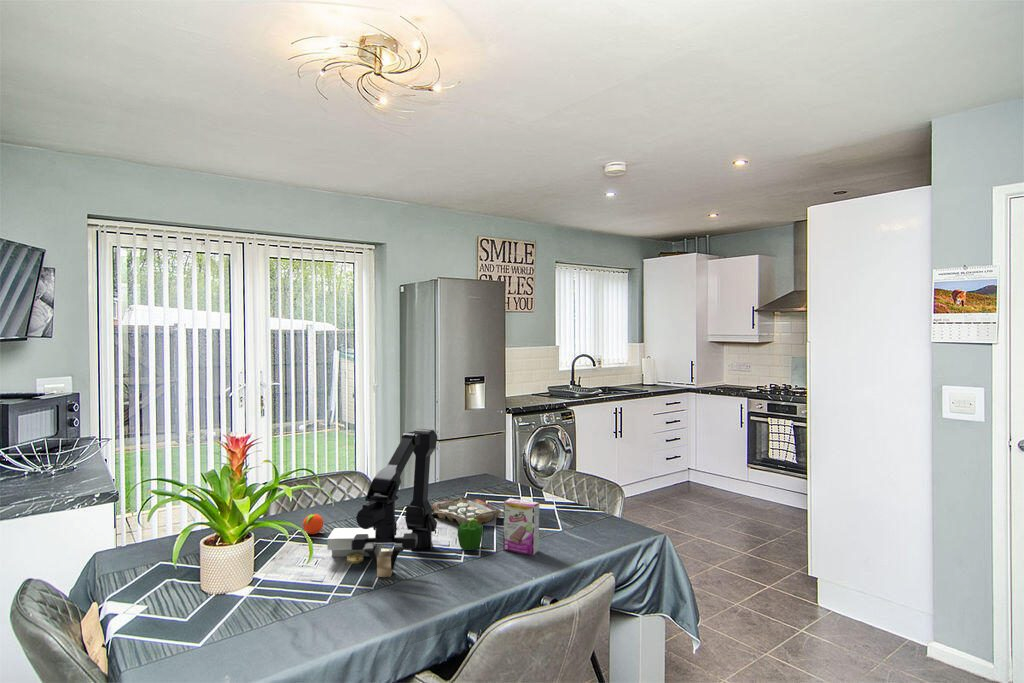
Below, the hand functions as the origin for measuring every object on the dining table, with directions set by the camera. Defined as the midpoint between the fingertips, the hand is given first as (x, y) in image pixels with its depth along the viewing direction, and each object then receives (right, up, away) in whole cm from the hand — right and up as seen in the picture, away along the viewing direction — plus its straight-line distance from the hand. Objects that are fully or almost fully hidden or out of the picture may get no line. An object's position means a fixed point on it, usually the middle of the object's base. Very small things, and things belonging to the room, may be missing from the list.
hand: (385, 569), depth 169 cm
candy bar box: (+41, -1, +19) cm, 45 cm away
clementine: (-33, -1, +32) cm, 46 cm away
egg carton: (+19, -1, +52) cm, 56 cm away
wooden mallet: (0, -1, +5) cm, 5 cm away
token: (-12, -1, +10) cm, 15 cm away
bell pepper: (+24, -1, +21) cm, 31 cm away
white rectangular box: (-12, -1, +12) cm, 17 cm away
